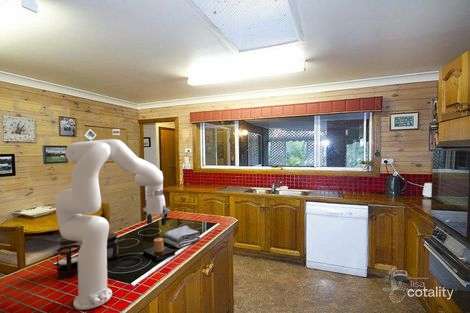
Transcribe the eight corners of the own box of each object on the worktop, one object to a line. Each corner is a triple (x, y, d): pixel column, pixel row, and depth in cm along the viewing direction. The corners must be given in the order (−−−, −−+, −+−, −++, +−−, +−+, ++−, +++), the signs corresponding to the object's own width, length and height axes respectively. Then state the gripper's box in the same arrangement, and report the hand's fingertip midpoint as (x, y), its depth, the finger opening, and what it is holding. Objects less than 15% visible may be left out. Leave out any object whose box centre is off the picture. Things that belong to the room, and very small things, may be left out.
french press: (54, 281, 104) (53, 229, 104) (55, 273, 112) (54, 224, 112) (85, 274, 111) (84, 224, 111) (84, 266, 119) (84, 220, 119)
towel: (163, 243, 147) (162, 231, 147) (186, 235, 162) (186, 224, 162) (178, 249, 138) (178, 236, 138) (201, 240, 152) (201, 228, 152)
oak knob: (165, 250, 131) (165, 238, 131) (157, 252, 127) (156, 241, 127) (160, 247, 134) (160, 236, 134) (152, 250, 131) (152, 239, 131)
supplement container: (116, 252, 135) (116, 231, 135) (119, 258, 127) (119, 236, 127) (95, 257, 130) (94, 235, 130) (97, 264, 121) (96, 240, 121)
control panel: (174, 255, 130) (174, 250, 130) (156, 262, 122) (156, 256, 122) (161, 248, 140) (161, 244, 140) (143, 254, 132) (143, 249, 132)
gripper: (138, 193, 130) (139, 224, 131) (164, 195, 124) (165, 227, 124) (148, 191, 137) (148, 221, 138) (173, 192, 131) (174, 223, 131)
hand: (156, 224), depth 131 cm, fingers open, 9 cm apart
